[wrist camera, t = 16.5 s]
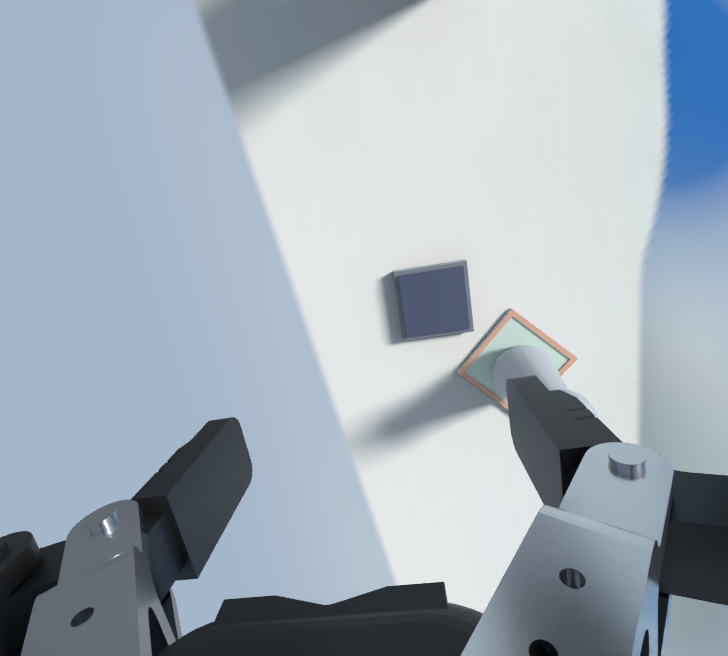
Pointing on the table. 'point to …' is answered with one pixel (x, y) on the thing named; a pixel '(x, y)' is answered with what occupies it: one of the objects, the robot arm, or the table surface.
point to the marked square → (501, 339)
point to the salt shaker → (530, 370)
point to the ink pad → (434, 300)
